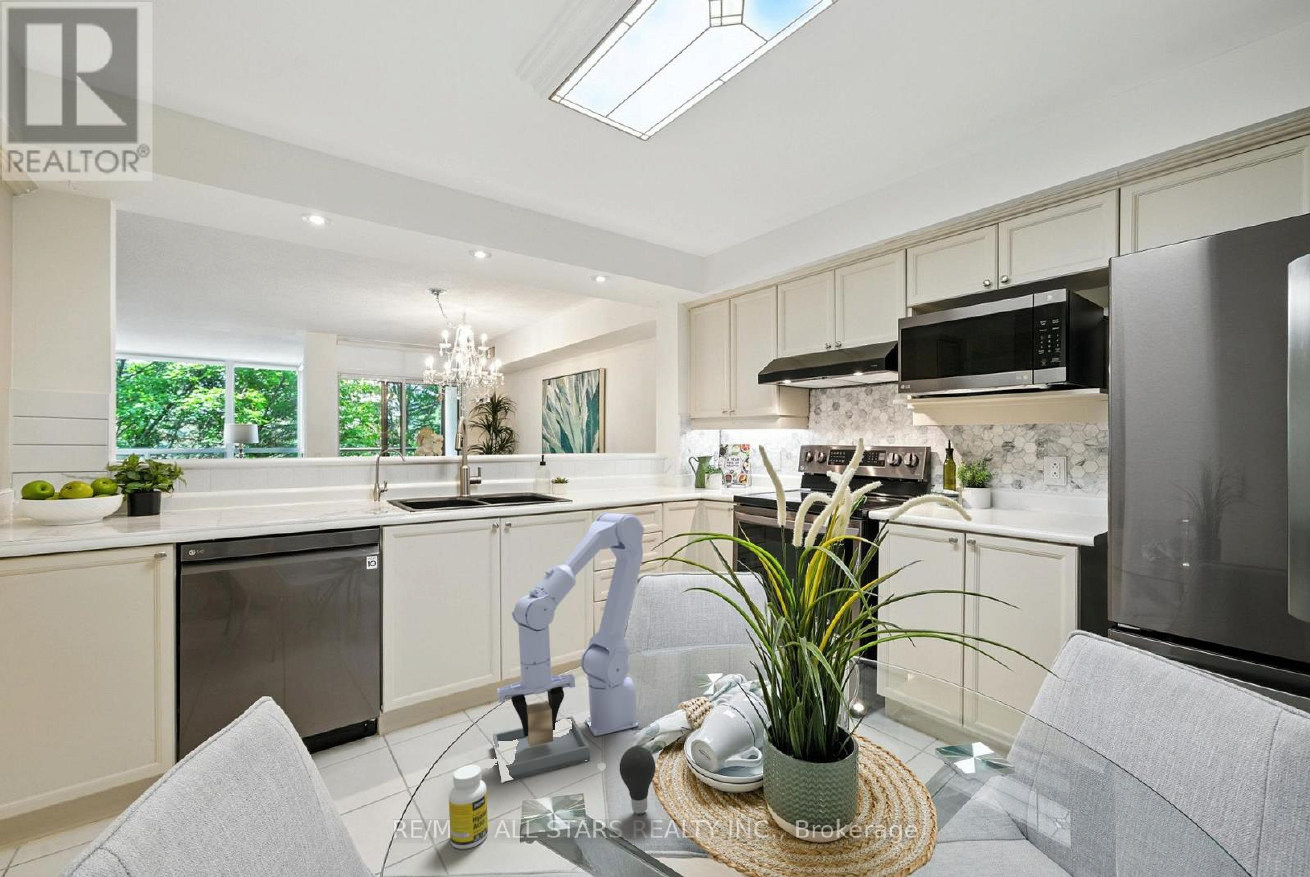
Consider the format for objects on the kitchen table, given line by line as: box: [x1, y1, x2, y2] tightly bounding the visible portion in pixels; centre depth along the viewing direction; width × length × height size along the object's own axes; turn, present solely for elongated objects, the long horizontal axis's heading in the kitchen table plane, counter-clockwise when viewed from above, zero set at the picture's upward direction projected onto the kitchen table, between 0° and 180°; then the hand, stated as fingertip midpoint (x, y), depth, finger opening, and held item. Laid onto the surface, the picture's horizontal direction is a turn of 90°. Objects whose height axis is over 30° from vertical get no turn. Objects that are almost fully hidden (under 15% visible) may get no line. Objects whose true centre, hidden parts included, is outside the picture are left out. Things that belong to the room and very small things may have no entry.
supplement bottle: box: [448, 764, 489, 850], centre depth 85 cm, size 5×5×10 cm
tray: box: [492, 715, 591, 781], centre depth 109 cm, size 16×14×2 cm
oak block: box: [526, 700, 553, 747], centre depth 109 cm, size 4×4×6 cm
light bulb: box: [619, 745, 656, 815], centre depth 89 cm, size 6×6×10 cm
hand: (539, 731), depth 109 cm, fingers closed on oak block, 4 cm apart
